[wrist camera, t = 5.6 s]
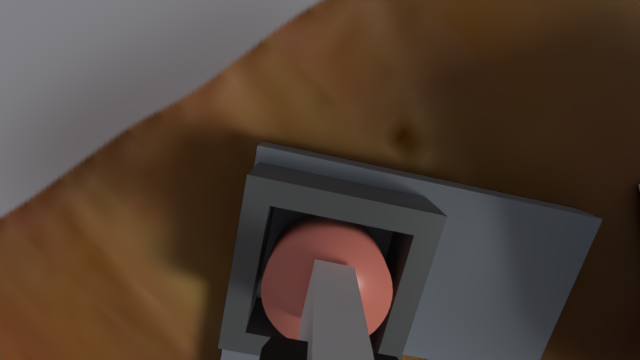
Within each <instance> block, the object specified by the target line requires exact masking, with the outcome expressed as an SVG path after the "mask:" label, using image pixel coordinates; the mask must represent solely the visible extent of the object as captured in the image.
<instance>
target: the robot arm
mask: <svg viewBox="0 0 640 360" xmlns="http://www.w3.org/2000/svg"><path fill="white" fill-rule="evenodd" d="M259 360H399V359H398V358H397V357H396V356H390V355H385V354H380V353H374V352H373V351H372V347H371V342H370V337H369V332H368V328H367V323H366V318H365V314H364V309H363V304H362V299H361V295H360V290H359V285H358V280H357V276H356V271H355V267H352V266H347V265H342V264H337V263H332V262H327V261H322V260H316V259H315V261H314V265H313V270H312V274H311V278H310V282H309V287H308V291H307V295H306V300H305V304H304V308H303V312H302V317H301V321H300V330H299V340H296V339H291V338H285V337H280V336H274V335H272V336H271V338H270V339H269V340H268V341H267V342H266V344H265V345H264V346H263V347H262V349H261V354H260V358H259Z"/></svg>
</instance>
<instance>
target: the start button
mask: <svg viewBox="0 0 640 360" xmlns="http://www.w3.org/2000/svg"><path fill="white" fill-rule="evenodd" d="M315 259H316V260H322V261H327V262H332V263H337V264H342V265H347V266H352V267H355V271H356V276H357V280H358V285H359V290H360V295H361V299H362V304H363V309H364V314H365V318H366V323H367V328H368V332H369V335H370V334H372V333H373V332H374V331H375V330H376V329H377V328H378V327H379V326H380V324H381V323H382V322H383V320H384V319H385V317H386V315H387V313H388V311H389V308H390V305H391V301H392V293H393V288H392V280H391V275H390V273H389V270H388V268H387V265H386V263H385V260H384V258H383V255H382V253H381V250H380V248H379V246H378V244H377V242H376V240H375V238H374V237H373V236H372V234H371V233H370V232H369V231H368V230H367V229H366V228H365V227H364V226H362V225H361V224H356V223H351V222H346V221H342V220H337V219H332V218H327V217H322V216H317V215H311V216H307V217H305V218H302V219H300V220H298V221H296V222H294V223H293V224H291V225H290V226H288V227H287V228H286V229H285V230H284V231H283V232H282V233H281V234H280V236H279V237H278V238H277V240H276V242H275V243H274V245H273V248H272V250H271V253H270V256H269V260H268V263H267V266H266V269H265V272H264V275H263V279H262V285H261V298H262V304H263V307H264V310H265V312H266V314H267V316H268V318H269V320H270V321H271V323H272V324H273V325H274V327H275V328H276V329H277V330H278V331H279V332H280V333H282V334H283V335H284V336H285V337H287V338H291V339H296V340H299V330H300V321H301V317H302V312H303V308H304V304H305V300H306V295H307V291H308V287H309V282H310V278H311V274H312V270H313V265H314V261H315Z"/></svg>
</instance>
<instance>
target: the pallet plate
mask: <svg viewBox="0 0 640 360" xmlns="http://www.w3.org/2000/svg"><path fill="white" fill-rule="evenodd" d="M311 215H317V216H322V217H327V218H332V219H337V220H342V221H346V222H351V223H356V224H361V225H362V226H364V227H365V228H366V229H367V230H368V231H369V232H370V233H371V234H372V236H373V237H374V238H375V240H376V242H377V244H378V246H379V248H380V250H381V253H382V255H383V258H384V260H385V263H386V265H387V268H388V270H389V273H390V275H391V280H392V288H393V293H392V301H391V305H390V308H389V311H388V313H387V315H386V317H385V319H384V320H383V322H382V323H381V324H380V326H379V327H378V328H377V329H376V330H375V331H374V332H373V333H372V334H370V335H369V337H370V342H371V347H372V351H373V352H374V353H380V354H385V355H390V356H396V357H397V358H398V359H399V360H401V357H402V355H407V356H413V357H418V358H423V359H429V360H540V359H541V356H542V354H543V352H544V350H545V348H546V345H547V343H548V341H549V339H550V336H551V334H552V332H553V330H554V327H555V325H556V323H557V321H558V318H559V316H560V314H561V312H562V309H563V307H564V305H565V303H566V300H567V298H568V296H569V294H570V291H571V289H572V287H573V285H574V283H575V280H576V278H577V276H578V274H579V271H580V269H581V267H582V265H583V262H584V260H585V258H586V256H587V253H588V251H589V249H590V247H591V244H592V242H593V240H594V238H595V235H596V233H597V231H598V229H599V226H600V224H601V222H602V220H603V219H601V218H599V217H596V216H594V215H591V214H589V213H587V212H584V211H582V210H579V209H577V208H572V207H567V206H563V205H558V204H553V203H549V202H544V201H539V200H535V199H530V198H525V197H521V196H516V195H511V194H507V193H502V192H497V191H493V190H488V189H483V188H479V187H474V186H469V185H465V184H460V183H455V182H451V181H446V180H441V179H437V178H432V177H427V176H423V175H418V174H413V173H409V172H404V171H400V170H395V169H390V168H386V167H381V166H376V165H372V164H367V163H362V162H358V161H353V160H348V159H344V158H339V157H334V156H330V155H325V154H320V153H316V152H311V151H306V150H302V149H297V148H292V147H288V146H283V145H278V144H274V143H269V142H264V141H263V142H262V143H260V144H259V145H258V146H257V151H256V157H255V163H254V168H253V169H252V170H251V171H250V172H249V173H248V174H247V177H246V183H245V189H244V195H243V201H242V207H241V213H240V219H239V225H238V231H237V237H236V243H235V249H234V255H233V261H232V267H231V273H230V278H229V284H228V290H227V296H226V302H225V308H224V314H223V320H222V326H221V332H220V338H219V344H218V349H222V355H221V360H259V358H260V354H261V349H262V347H263V346H264V345H265V344H266V342H267V341H268V340H269V339H270V338H271V336H272V335H274V336H280V337H285V336H284V335H283V334H282V333H280V332H279V331H278V330H277V329H276V328H275V327H274V325H273V324H272V323H271V321H270V320H269V318H268V316H267V314H266V312H265V310H264V307H263V304H262V298H261V285H262V279H263V275H264V272H265V269H266V266H267V263H268V260H269V256H270V253H271V250H272V248H273V245H274V243H275V242H276V240H277V238H278V237H279V236H280V234H281V233H282V232H283V231H284V230H285V229H286V228H287V227H288V226H290V225H291V224H293V223H294V222H296V221H298V220H300V219H302V218H305V217H307V216H311ZM285 338H287V337H285Z"/></svg>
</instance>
